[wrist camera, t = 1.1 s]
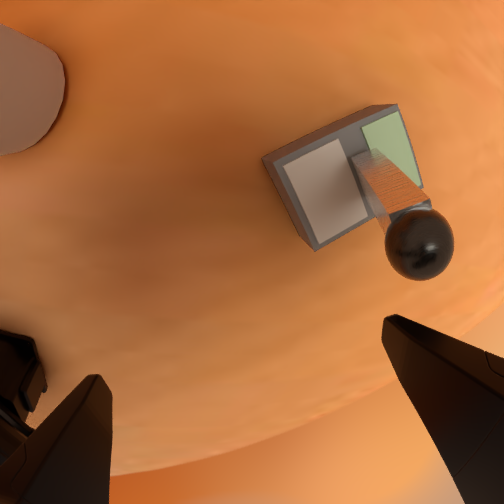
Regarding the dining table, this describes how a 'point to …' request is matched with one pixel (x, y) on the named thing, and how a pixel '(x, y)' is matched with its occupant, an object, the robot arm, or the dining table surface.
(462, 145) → the dining table surface
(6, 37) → the can
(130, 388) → the dining table surface
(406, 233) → the toggle lever
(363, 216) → the switch box
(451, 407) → the robot arm
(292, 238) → the dining table surface
